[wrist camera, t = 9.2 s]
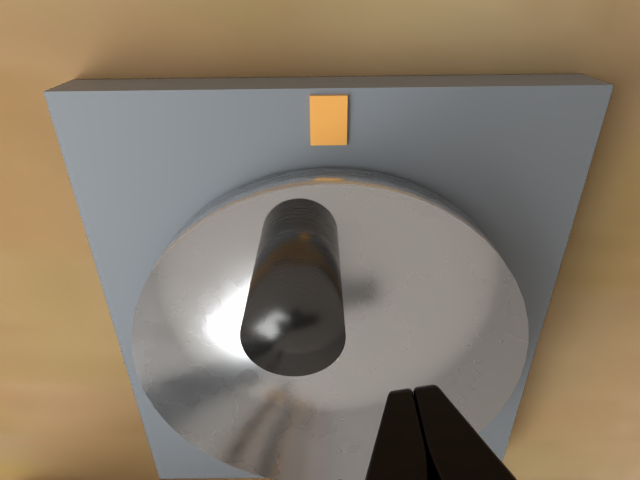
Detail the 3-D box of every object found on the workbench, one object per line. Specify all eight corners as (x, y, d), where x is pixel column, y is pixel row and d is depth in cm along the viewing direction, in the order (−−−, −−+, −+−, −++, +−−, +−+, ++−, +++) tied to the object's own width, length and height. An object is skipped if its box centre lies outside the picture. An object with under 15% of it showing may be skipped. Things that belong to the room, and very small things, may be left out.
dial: (507, 434, 22) (573, 594, 16) (206, 469, 23) (171, 629, 18) (520, 133, 15) (649, 230, 9) (82, 205, 16) (-49, 332, 10)
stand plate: (486, 442, 26) (499, 478, 24) (170, 445, 26) (158, 481, 24) (582, 73, 16) (617, 85, 14) (72, 79, 16) (40, 92, 14)
